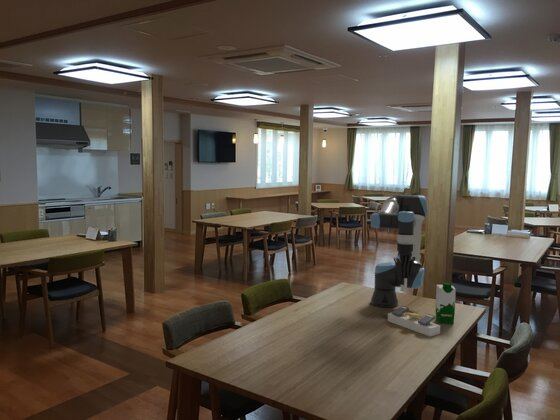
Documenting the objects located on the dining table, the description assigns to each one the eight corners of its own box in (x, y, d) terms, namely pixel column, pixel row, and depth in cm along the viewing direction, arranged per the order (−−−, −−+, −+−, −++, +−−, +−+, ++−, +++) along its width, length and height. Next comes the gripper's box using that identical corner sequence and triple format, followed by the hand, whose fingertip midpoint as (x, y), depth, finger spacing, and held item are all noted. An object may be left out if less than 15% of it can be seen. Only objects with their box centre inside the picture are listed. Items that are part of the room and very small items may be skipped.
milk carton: (437, 323, 233) (439, 284, 231) (433, 318, 241) (435, 280, 240) (455, 324, 232) (457, 285, 230) (451, 318, 241) (452, 280, 239)
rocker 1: (402, 307, 237) (402, 305, 237) (409, 309, 234) (408, 307, 234) (392, 314, 233) (391, 311, 233) (398, 316, 230) (398, 313, 230)
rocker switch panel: (385, 314, 247) (385, 305, 246) (439, 333, 219) (440, 323, 218) (376, 316, 243) (376, 307, 242) (430, 336, 215) (430, 325, 214)
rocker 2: (414, 315, 231) (415, 313, 231) (421, 318, 228) (422, 315, 228) (404, 314, 226) (405, 311, 226) (410, 316, 223) (411, 313, 223)
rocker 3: (428, 316, 224) (428, 313, 224) (435, 318, 221) (435, 315, 221) (418, 323, 220) (417, 320, 220) (424, 325, 217) (424, 322, 217)
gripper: (408, 241, 234) (406, 288, 235) (389, 243, 227) (388, 291, 228) (420, 243, 228) (418, 291, 229) (401, 244, 221) (399, 294, 222)
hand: (403, 291), depth 229 cm, fingers closed
